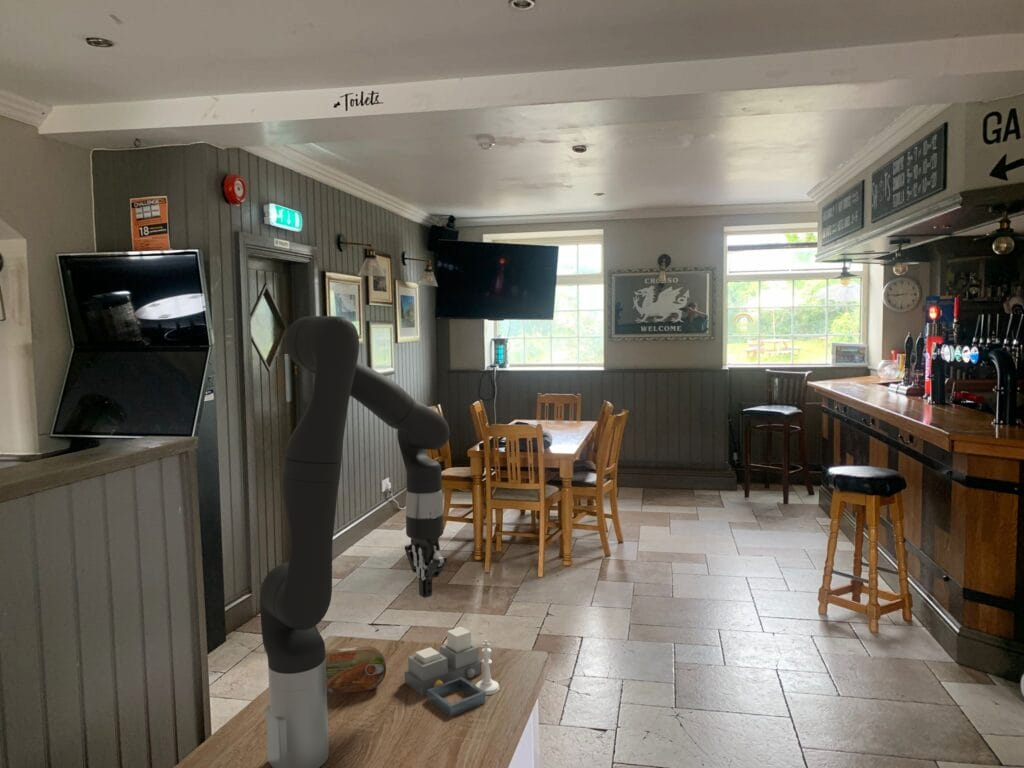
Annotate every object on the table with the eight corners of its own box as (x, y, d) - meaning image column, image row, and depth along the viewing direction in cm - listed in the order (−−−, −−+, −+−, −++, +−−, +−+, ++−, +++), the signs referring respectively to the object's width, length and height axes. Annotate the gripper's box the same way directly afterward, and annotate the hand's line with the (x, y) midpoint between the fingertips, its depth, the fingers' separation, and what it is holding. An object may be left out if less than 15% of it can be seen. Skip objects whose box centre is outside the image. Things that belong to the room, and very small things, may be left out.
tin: (309, 696, 141) (308, 655, 141) (311, 688, 145) (310, 648, 144) (386, 689, 144) (385, 649, 143) (386, 682, 147) (385, 642, 146)
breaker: (456, 652, 148) (456, 636, 148) (447, 646, 151) (447, 631, 150) (471, 647, 150) (470, 631, 150) (461, 641, 153) (461, 626, 153)
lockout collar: (450, 717, 133) (450, 706, 133) (427, 699, 139) (426, 689, 139) (485, 702, 138) (485, 692, 138) (461, 686, 145) (461, 676, 144)
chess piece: (496, 696, 141) (495, 646, 140) (472, 693, 142) (471, 645, 141) (501, 683, 145) (500, 636, 145) (478, 681, 146) (477, 634, 146)
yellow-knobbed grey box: (424, 697, 140) (424, 670, 140) (404, 682, 146) (404, 656, 146) (483, 674, 149) (483, 649, 149) (462, 661, 155) (462, 637, 155)
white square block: (425, 674, 143) (424, 658, 143) (415, 668, 146) (415, 652, 146) (440, 669, 145) (439, 653, 145) (430, 662, 148) (430, 647, 148)
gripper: (391, 509, 146) (393, 591, 147) (425, 521, 136) (427, 610, 137) (423, 503, 151) (424, 583, 152) (458, 515, 141) (459, 601, 142)
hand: (425, 596), depth 145 cm, fingers closed
